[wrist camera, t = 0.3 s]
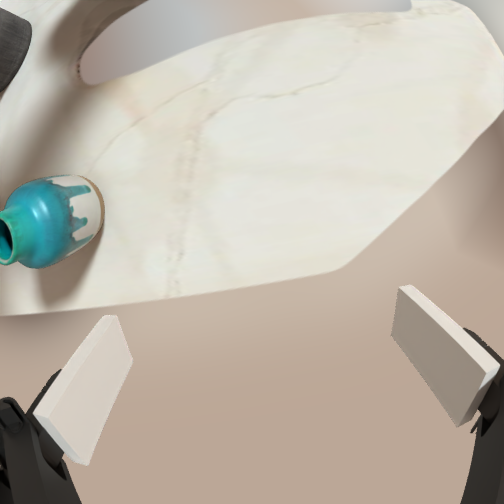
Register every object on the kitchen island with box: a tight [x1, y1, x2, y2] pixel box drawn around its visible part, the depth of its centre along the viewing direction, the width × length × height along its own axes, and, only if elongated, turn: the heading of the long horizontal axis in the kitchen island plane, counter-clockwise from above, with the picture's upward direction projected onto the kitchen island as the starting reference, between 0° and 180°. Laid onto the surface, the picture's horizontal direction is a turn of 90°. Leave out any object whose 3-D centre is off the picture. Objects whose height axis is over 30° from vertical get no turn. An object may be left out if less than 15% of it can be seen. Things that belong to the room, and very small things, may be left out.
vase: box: [0, 175, 105, 269], centre depth 28 cm, size 11×11×19 cm
